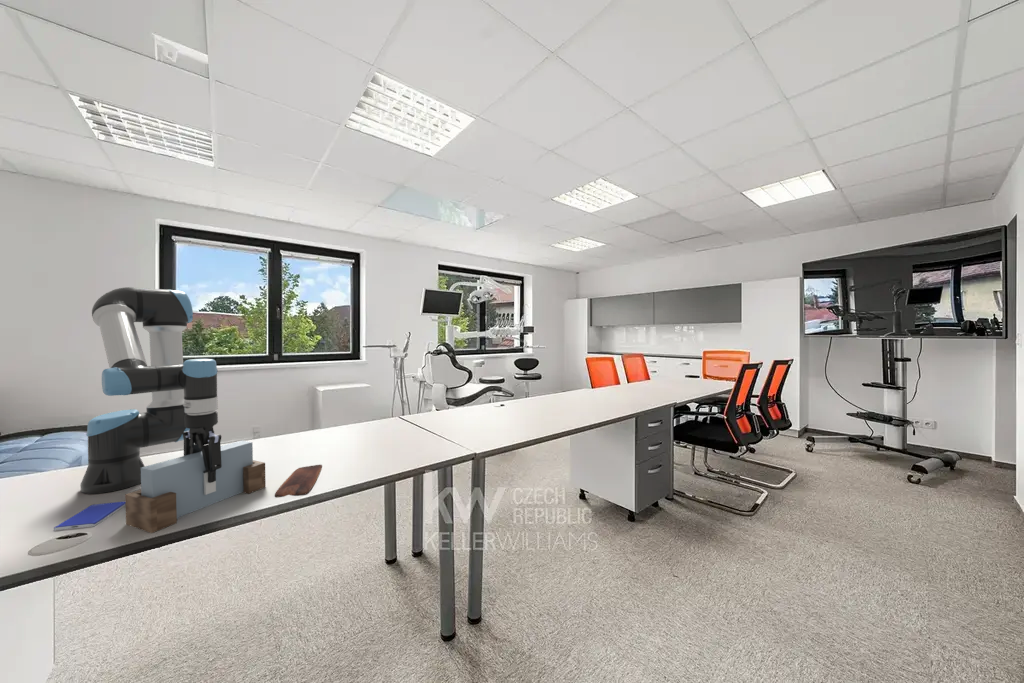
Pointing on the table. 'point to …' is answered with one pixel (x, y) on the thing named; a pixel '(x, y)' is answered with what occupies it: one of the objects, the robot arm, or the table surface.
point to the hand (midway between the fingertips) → (202, 490)
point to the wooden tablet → (299, 481)
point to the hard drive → (91, 516)
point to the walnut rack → (163, 507)
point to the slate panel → (197, 477)
